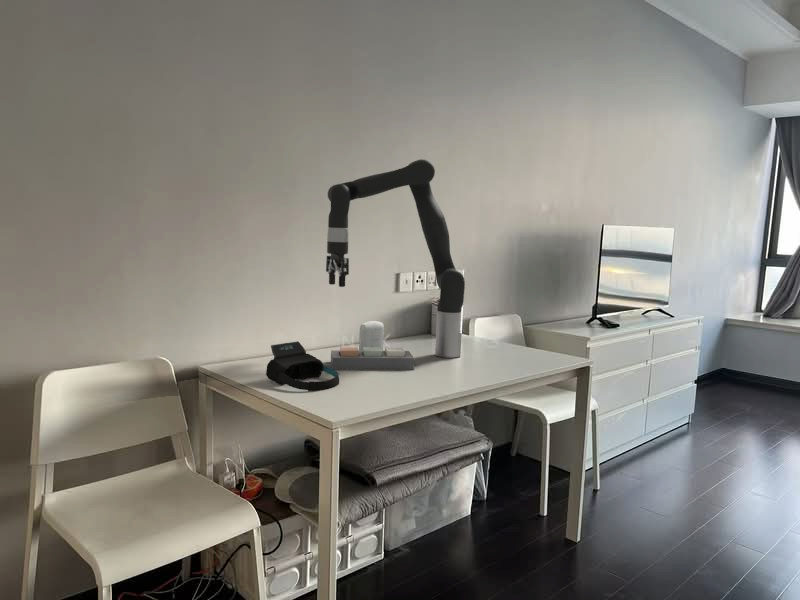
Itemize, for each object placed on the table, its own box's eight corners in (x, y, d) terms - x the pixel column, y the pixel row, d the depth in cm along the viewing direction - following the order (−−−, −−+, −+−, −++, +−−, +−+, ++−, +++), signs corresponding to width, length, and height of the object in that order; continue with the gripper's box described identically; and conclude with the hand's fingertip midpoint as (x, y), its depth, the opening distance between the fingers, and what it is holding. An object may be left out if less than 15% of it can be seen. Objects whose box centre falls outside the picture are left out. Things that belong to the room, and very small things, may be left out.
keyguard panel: (408, 361, 228) (408, 350, 228) (413, 369, 217) (414, 358, 216) (330, 361, 224) (331, 350, 223) (332, 369, 212) (332, 357, 212)
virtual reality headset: (302, 368, 209) (306, 339, 206) (349, 391, 196) (354, 361, 193) (257, 377, 194) (261, 346, 192) (304, 402, 181) (309, 370, 179)
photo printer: (377, 350, 246) (378, 319, 245) (384, 352, 243) (385, 320, 242) (357, 353, 239) (358, 321, 238) (364, 355, 236) (365, 323, 235)
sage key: (379, 355, 223) (379, 347, 223) (381, 358, 217) (381, 351, 217) (362, 355, 222) (362, 347, 222) (364, 358, 216) (364, 350, 216)
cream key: (401, 355, 225) (401, 347, 224) (404, 359, 219) (404, 351, 218) (385, 355, 224) (385, 347, 223) (387, 359, 218) (387, 351, 217)
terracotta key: (356, 355, 222) (357, 347, 222) (358, 358, 216) (358, 350, 216) (339, 355, 221) (340, 347, 221) (340, 358, 215) (341, 350, 215)
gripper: (356, 241, 221) (354, 287, 223) (338, 239, 233) (337, 283, 235) (336, 241, 217) (335, 288, 219) (320, 239, 229) (319, 283, 231)
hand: (336, 285), depth 227 cm, fingers open, 8 cm apart
